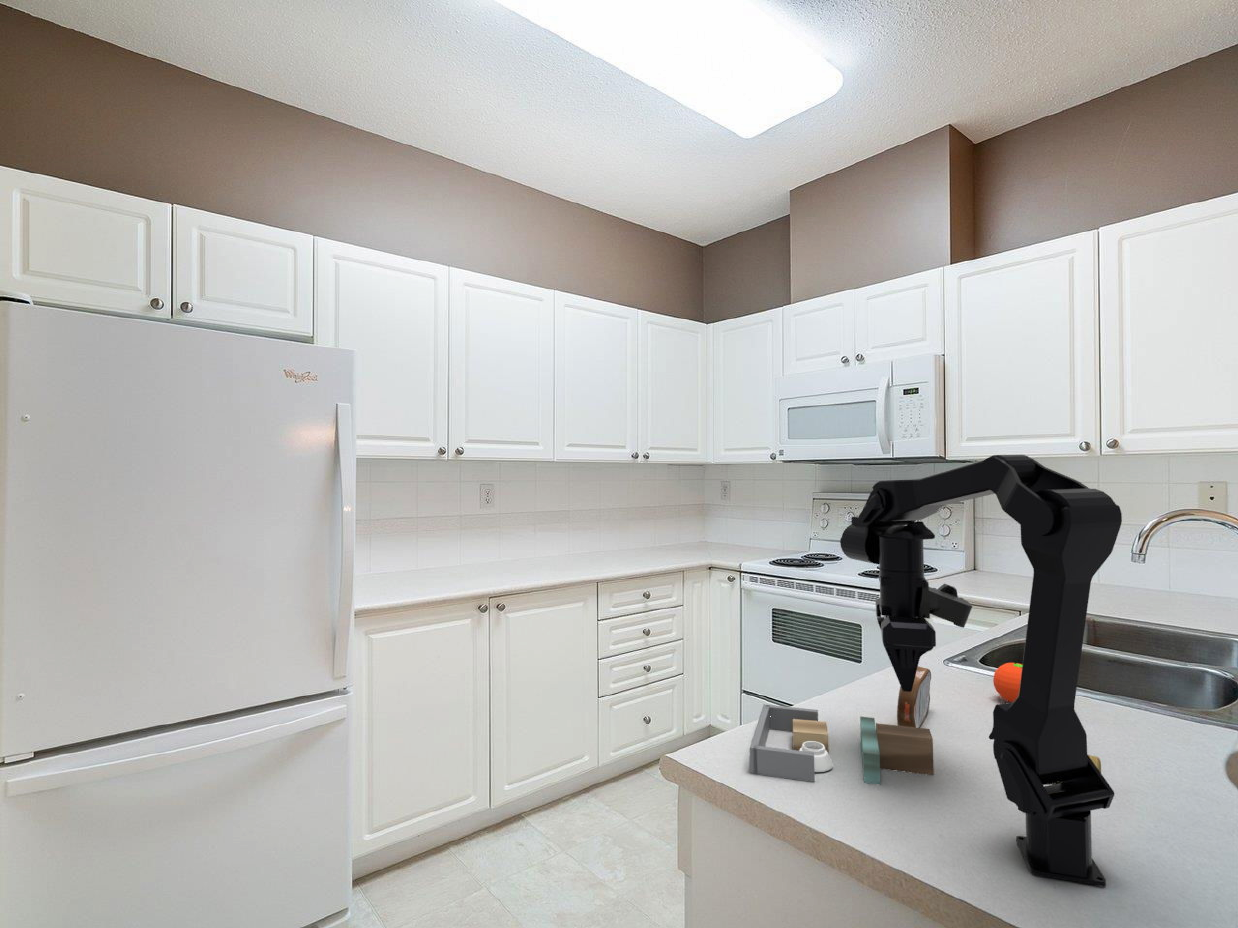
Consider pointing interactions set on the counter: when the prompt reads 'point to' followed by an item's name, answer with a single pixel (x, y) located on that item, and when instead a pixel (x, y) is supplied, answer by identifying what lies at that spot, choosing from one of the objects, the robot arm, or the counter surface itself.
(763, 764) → the grey u-shaped bracket
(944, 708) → the counter surface
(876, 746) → the brown and teal block
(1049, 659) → the robot arm
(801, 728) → the light wooden cube
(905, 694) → the tin
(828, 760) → the white jar
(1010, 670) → the clementine
